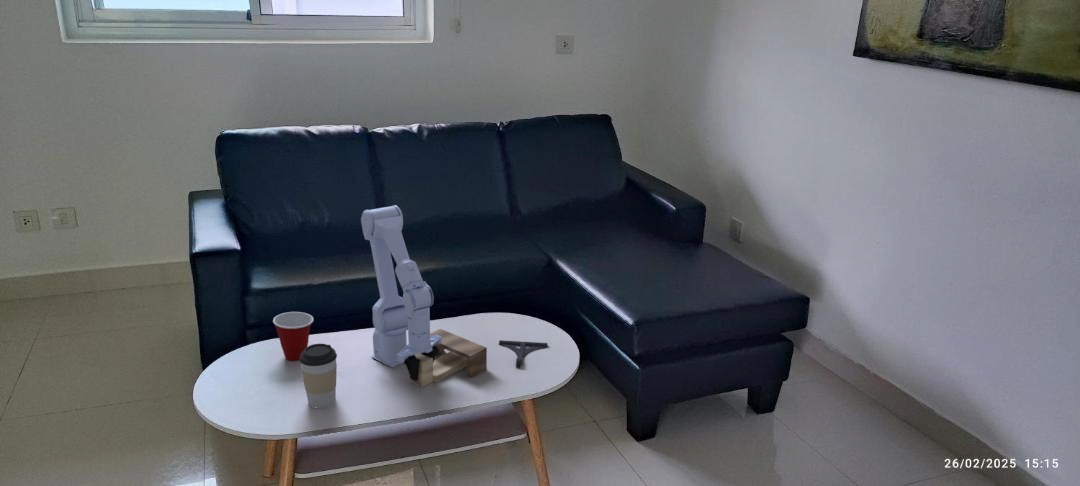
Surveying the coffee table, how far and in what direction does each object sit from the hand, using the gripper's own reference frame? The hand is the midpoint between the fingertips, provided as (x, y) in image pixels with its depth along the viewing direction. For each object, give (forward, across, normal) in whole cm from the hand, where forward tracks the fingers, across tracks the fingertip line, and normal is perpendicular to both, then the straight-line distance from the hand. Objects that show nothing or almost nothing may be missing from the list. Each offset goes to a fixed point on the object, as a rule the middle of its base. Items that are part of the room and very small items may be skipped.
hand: (420, 375), depth 198 cm
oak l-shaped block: (+2, +8, 0) cm, 8 cm away
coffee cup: (+2, -23, +12) cm, 26 cm away
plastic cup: (+2, -13, +37) cm, 39 cm away
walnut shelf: (+2, +13, 0) cm, 13 cm away
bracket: (+3, +29, -11) cm, 31 cm away
